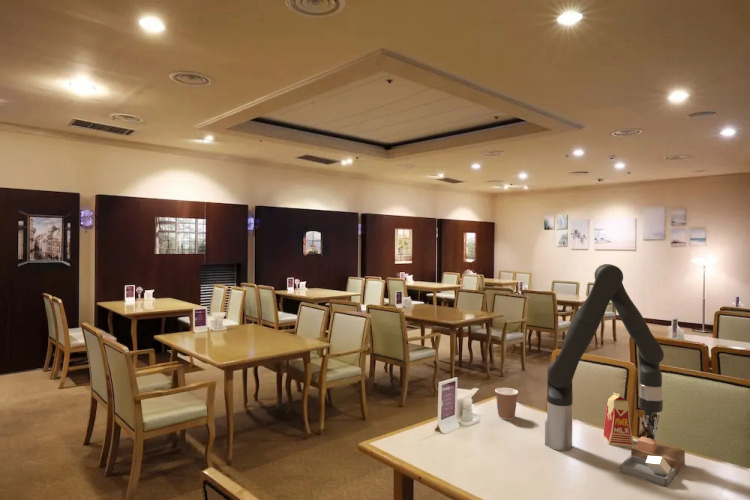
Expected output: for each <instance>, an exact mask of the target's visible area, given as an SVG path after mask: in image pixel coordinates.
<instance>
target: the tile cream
mask: <svg viewBox="0 0 750 500" xmlns="http://www.w3.org/2000/svg"><path fill="white" fill-rule="evenodd" d="M645 463H646V464H647V465H648V466H649V468H650V469H651V470H652V471H653V472H654V473H657V474H665V475H668V474H669V472H670V469H671V467H670V466H669V465H668V463H667V462H666V461H665V460H664V458H663V457H659V456H648V457H647V460H646V462H645Z"/></svg>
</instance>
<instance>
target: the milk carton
mask: <svg viewBox="0 0 750 500" xmlns="http://www.w3.org/2000/svg"><path fill="white" fill-rule="evenodd" d="M612 393H613V394H612V395H611V396H610V397H609V398H608V399H607V405H606V409H605V417H604V423H603V438H604V439H605V440H606V442H607V444H608V445H611V446H612V445H613V446H622V447H623V446H624V447H630V448H632V447H633V446H634V445H635V443H634V441H633V440H634V439H633V433H632V428H631V419H630V410H629V409H630V408H629V401H628V400H627V399H625V398H623V397H621V396H622V394H621V393H616V392H614V391H612Z"/></svg>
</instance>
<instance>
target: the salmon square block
mask: <svg viewBox="0 0 750 500" xmlns="http://www.w3.org/2000/svg"><path fill="white" fill-rule="evenodd" d="M657 443H658V440H657V439H655V440H654V439H650V438H647V436H641V437H639V439H637V443H636V444H637V448H638V449H641V450H645V451H648V452H652V453H653V452H654V451H655V450H656V449H657Z"/></svg>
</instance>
